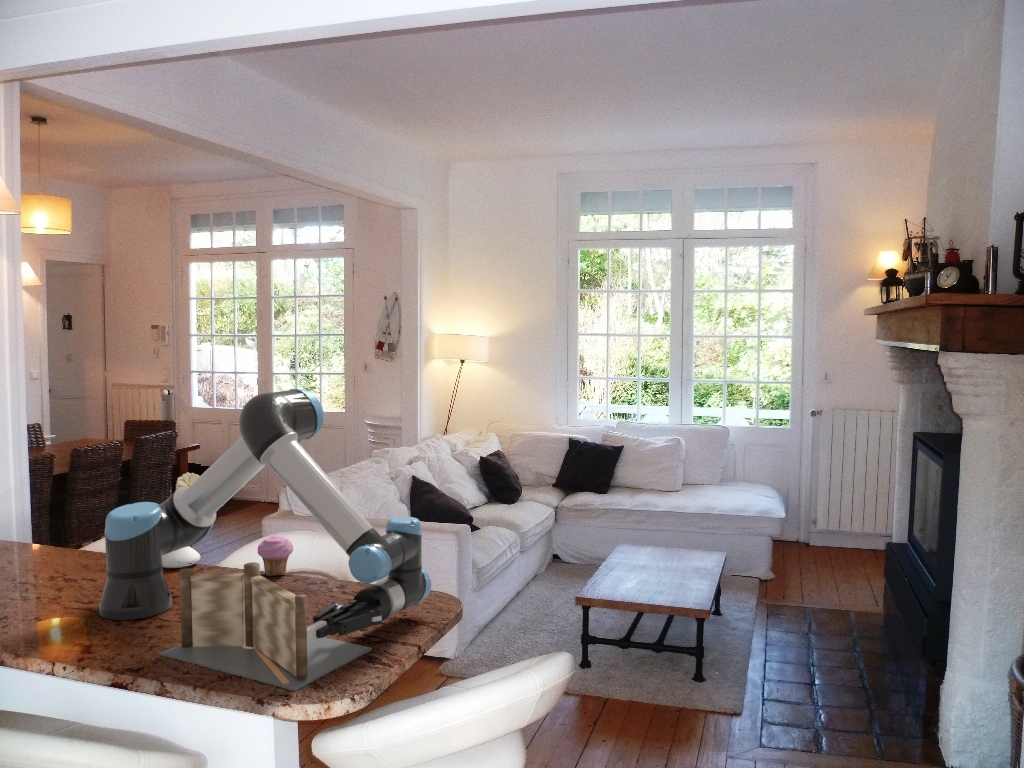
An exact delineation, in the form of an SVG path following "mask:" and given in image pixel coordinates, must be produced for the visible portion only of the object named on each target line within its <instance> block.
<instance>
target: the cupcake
mask: <svg viewBox="0 0 1024 768" xmlns="http://www.w3.org/2000/svg"><path fill="white" fill-rule="evenodd" d="M293 552H294V545H293V543H292V541H291V540H290V539H288V538H287V537H285V536H280V535H273V536H268V537H266V538H264V539H263V540H262V541H261V542H260V543H259V544H258V546H257V554H258V556H260V557H261V558H262V561H263V569H264V574H265V575H266V576H267V577H271V576H273V577H274V576H285V574H286V572H287V563H288V559H289V557H290V555H291V554H292V553H293Z"/></svg>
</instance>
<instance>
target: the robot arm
mask: <svg viewBox="0 0 1024 768" xmlns="http://www.w3.org/2000/svg"><path fill="white" fill-rule="evenodd" d="M238 425H239V431H240V435H241V436H240V437H239V438H238V439H237V440H236V441H235V442H234V443H233V444H232V445H231V446H230V447H229V448H227V450H226V451H225V452H224V453H222V455H220V456H219V458H217V460H215V462H214V463H213V464H211V465H210V466H209V467H208V468H207V469H206V470H205V471H204V472H203V473H202V474H201V475H199V476H200V477H199V478H198V479H197V480H196V481H195V482H194V483H193V484H192V485H191V486H190V487H189V486H184V487H180V488H179V489H177V490H176V489H175V491H174V492H173V493H172V494H171V495H170V496H169V497H168V498H167V499H166V500H165V501H163V502H161V503H156V502H154V501H153V502H151V501H139V502H134V503H128V504H124V505H121V506H119V507H116V508H114V509H113V510H111V511H110V512H108V514H107V515H106V518H105V528H104V533H103V534H104V541H105V543H104V545H105V561H106V564H105V565H106V580H105V584H104V588H103V591H102V595H101V599H100V600H99V603H98V613H99V616H101V618H104V619H108V620H112V621H113V620H116V621H122V620H123V621H130V620H139V619H144V618H150V617H153V616H157V615H160V614H162V613H164V612H166V611H168V610H170V609H171V607H172V606H173V599H172V594H171V592H170V588H169V586H168V583H167V580H166V578H165V575H164V572H163V571H164V569H163V568H164V567H163V565H162V563H163V562H162V555H165V554H167V553H170V552H173V551H176V550H178V549H181V548H184V547H188V546H189V547H192V546H194V545H196V544H198V543H199V542H201V541H203V540H204V539H205V538H206V537H208V535H209V534H210V533H211V531H212V529H213V527H214V523H215V521H216V520H217V519H216V518H217V511H219V510H220V508H222V507H223V506H224V505H225V504H226V503H227V502H228V501H229V500H230V499H231V498H232V497H233V496H235V495H236V494H237V493H238V492H239V491H240V490H241V489H242V488H244V486H245V485H246V484H247V483H248V482H249V481H251V480H252V479H253V478H254V477H255V476H256V475H257V474H259V472H260V471H261V470H262V469H264V467H265V466H269V467H270V469H272V470H273V472H274V473H275V474H276V475H277V477H279V479H280V480H282V481H281V482H283V483H284V484H285V485H286V487H288V489H289V490H290V491H291V493H293V494H294V495H295V497H296V498H297V499H298V500H299V501H300V502H301V504H302V505H303V506H304V507H305V508H306V509H307V510H308V511H309V513H310V514H311V515H312V516H313V517H314V518H315V519H316V521H317V522H318V523H319V525H321V527H323V529H324V530H325V531H326V532H327V533H328V534H329V536H331V538H332V539H333V540H334V541H335V542H336V544H337V545H338V546H339V547H340V548H341V549H342V550H343V551H344V552H345V554H346V555H347V556H348V557H349V559H348V567H349V570H350V574H351V576H352V577H353V578H354V579H355V580H356V581H358V582H360V583H363V584H371V583H374V582H375V583H374V584H372V585H369V586H367V587H365V588H363V589H360V590H359V591H357V592H356V594H355V596H354V598H353V599H351V600H350V601H349V600H348V601H345V602H344V603H343V604H342V605H341V604H340V605H339V604H338V603H337V602H336V601H330V602H329V605H328V606H326V607H325V608H324V609H322V610H320V611H319V612H318V613H316V614H315V615H314V616H313V617H312V624H310V625H307V645H309V644H311V643H313V642H315V641H317V640H319V639H321V638H323V637H325V638H326V637H327V636H334V635H336V634H338V635H337V636H339V637H343V636H345V635H348V634H352V633H354V632H358V631H360V630H364V629H366V628H367V629H368V628H370V627H373V626H378V625H379V626H380V625H382V621H385V620H387V619H389V618H390V617H392V616H394V615H395V614H397V613H400V612H402V611H404V610H406V609H408V608H410V607H412V606H415V605H417V604H419V603H420V602H422V601H423V600H424V599H426V598H427V597H428V595H430V592H431V591H432V579H431V578H430V575H429V573H428V572H427V571H426V569H424V568H423V566H422V563H423V562H422V561H423V560H422V559H423V558H422V557H423V556H422V555H423V554H422V552H423V551H422V549H423V548H422V546H423V545H422V544H423V543H422V541H423V540H422V537H423V534H422V524H421V520H419V518H417V517H412V516H396V517H392V518H390V519H389V520H388V521H387V522H386V528H385V533H386V534H383V535H381V534H380V533H379V532H378V531H377V530H376V529H375V528H374V527H373V526H372V524H371V523H370V522H369V521H368V520H367V519H366V517H365V516H364V515H363V514H362V513H361V512H360V511H359V510H358V509H357V507H356V506H355V505H354V504H353V503H352V502H351V500H350V499H349V497H347V496H346V495H345V494H344V493H343V491H342V490H341V489H340V488H339V487H338V486H337V484H335V483H334V481H333V480H332V479H331V478H330V477H329V475H328V474H327V473H326V472H325V471H324V470H323V469H322V468H321V466H319V464H318V463H317V462H316V460H315V459H313V458H312V456H311V455H310V454H309V453H308V452H307V451H306V449H305V448H304V447H303V446H302V445H301V444H300V443H301V442H302V441H304V440H310V439H312V438H313V437H314V436H316V435H318V433H320V431H321V429H322V427H323V425H324V409H323V406H322V403H321V402H320V400H319V399H318V397H317V396H316V395H315V394H314V393H312V392H310V391H309V390H306V389H300V388H299V389H298V388H291V389H288V390H281V391H274V392H264V393H259V394H257V395H255V396H253V397H251V398H250V399H249V400H248V401H246V403H245V404H244V406H243V408H242V410H241V412H240V415H239V421H238ZM386 577H387V578H386ZM383 578H384V579H383ZM379 580H380V581H379ZM377 581H378V582H377Z"/></svg>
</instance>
